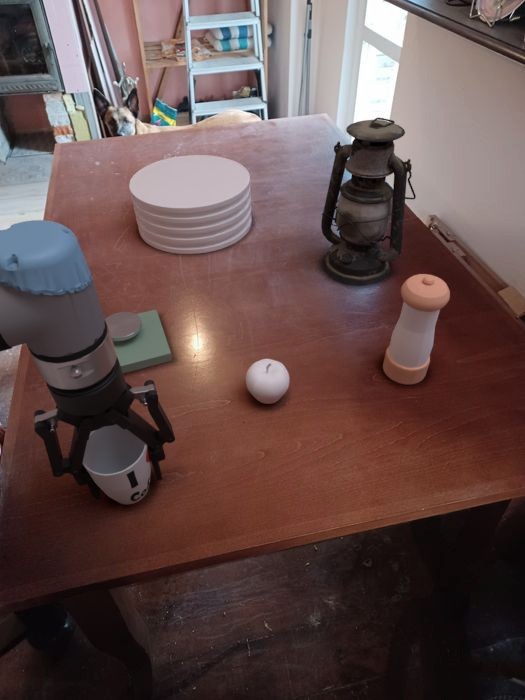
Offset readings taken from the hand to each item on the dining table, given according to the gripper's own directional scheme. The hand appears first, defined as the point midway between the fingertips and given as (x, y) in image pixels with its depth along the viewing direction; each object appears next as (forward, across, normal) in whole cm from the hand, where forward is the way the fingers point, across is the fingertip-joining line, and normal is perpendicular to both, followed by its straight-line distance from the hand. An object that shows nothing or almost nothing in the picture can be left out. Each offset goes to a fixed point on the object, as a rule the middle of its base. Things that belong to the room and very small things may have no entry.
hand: (128, 481), depth 66 cm
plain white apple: (+2, +24, +9) cm, 26 cm away
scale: (+2, +3, +29) cm, 29 cm away
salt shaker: (+2, +48, +6) cm, 48 cm away
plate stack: (+2, +27, +68) cm, 73 cm away
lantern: (+2, +57, +38) cm, 69 cm away
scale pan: (-2, +2, +31) cm, 31 cm away
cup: (+2, 0, 0) cm, 2 cm away
